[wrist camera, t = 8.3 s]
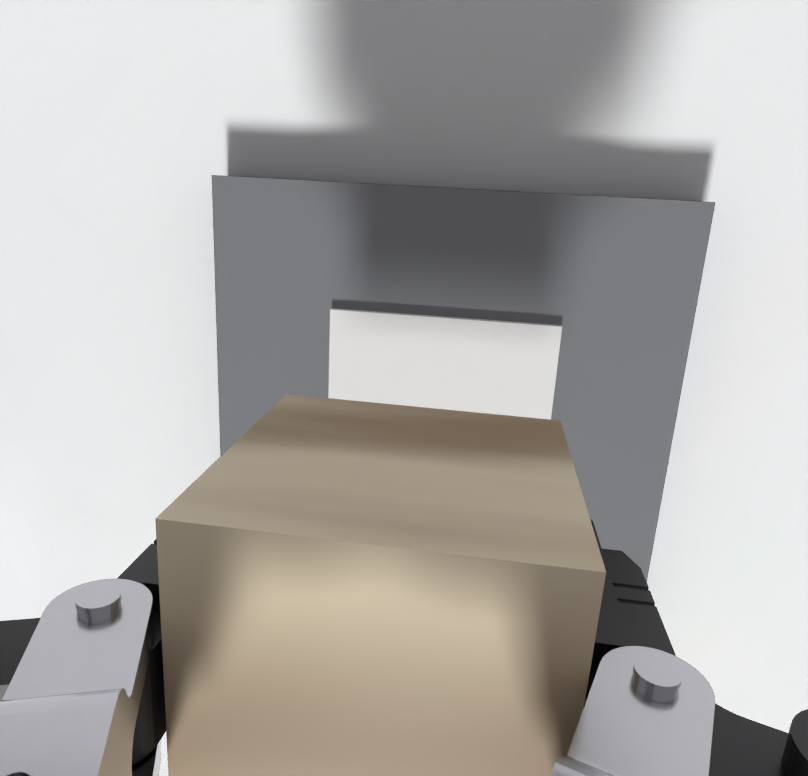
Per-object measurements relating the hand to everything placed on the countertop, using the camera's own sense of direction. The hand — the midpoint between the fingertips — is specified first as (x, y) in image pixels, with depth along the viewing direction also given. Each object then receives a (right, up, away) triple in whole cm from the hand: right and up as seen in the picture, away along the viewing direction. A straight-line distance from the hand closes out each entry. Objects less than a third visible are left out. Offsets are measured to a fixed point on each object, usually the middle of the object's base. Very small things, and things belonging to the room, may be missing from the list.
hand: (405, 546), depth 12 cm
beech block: (0, 0, +1) cm, 1 cm away
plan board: (+1, +2, +7) cm, 7 cm away
